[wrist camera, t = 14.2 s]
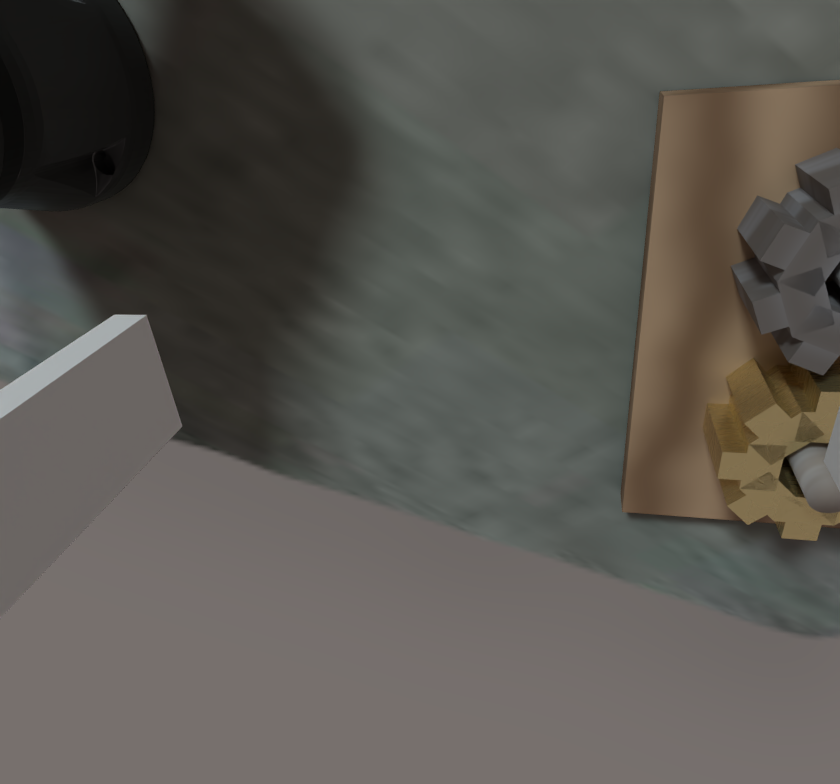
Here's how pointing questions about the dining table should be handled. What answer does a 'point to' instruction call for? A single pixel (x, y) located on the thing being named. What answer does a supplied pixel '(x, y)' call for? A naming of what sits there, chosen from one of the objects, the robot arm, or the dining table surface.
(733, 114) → the gear board
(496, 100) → the dining table surface
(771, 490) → the brass gear
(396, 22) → the dining table surface
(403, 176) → the dining table surface
